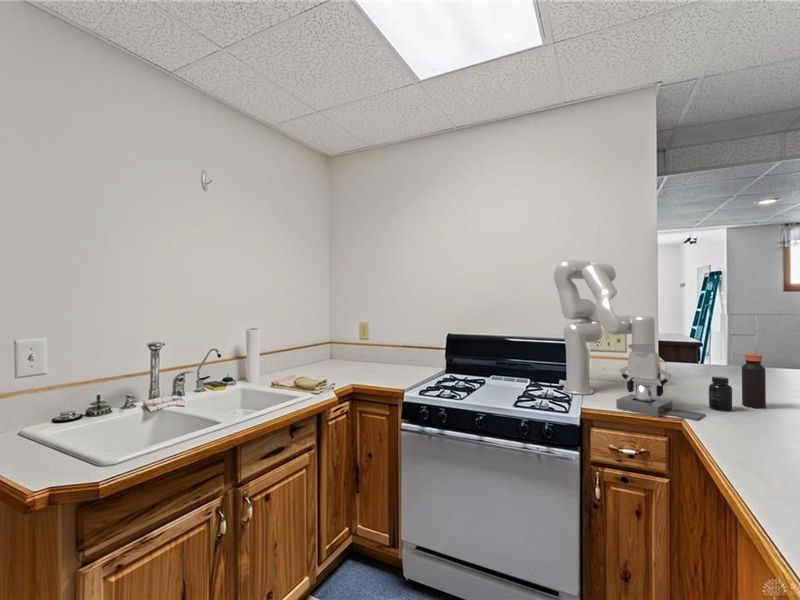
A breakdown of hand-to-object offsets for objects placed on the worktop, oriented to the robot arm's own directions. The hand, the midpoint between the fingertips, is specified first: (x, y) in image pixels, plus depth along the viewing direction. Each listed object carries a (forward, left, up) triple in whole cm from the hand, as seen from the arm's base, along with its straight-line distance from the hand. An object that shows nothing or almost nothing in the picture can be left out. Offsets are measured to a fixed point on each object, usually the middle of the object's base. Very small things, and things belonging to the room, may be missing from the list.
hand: (644, 393), depth 147 cm
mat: (+12, +3, -6) cm, 14 cm away
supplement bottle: (+18, +22, -6) cm, 29 cm away
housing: (0, 0, -6) cm, 6 cm away
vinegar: (+25, +36, -6) cm, 44 cm away
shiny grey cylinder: (0, 0, -6) cm, 6 cm away
